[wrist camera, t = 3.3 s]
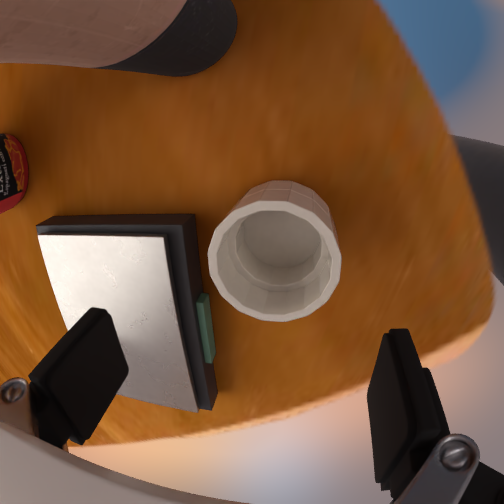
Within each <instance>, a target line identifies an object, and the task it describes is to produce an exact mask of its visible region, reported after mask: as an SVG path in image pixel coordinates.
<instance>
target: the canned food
mask: <svg viewBox="0 0 504 504" xmlns="http://www.w3.org/2000/svg"><path fill="white" fill-rule="evenodd" d="M27 185H28V162H27V158H26V154H25V152H24V149H23V147H22V145H21V143H20V142H19V141H18V140H17V139H16V138H15V137H14V136H12V135H9V134H0V214H1V213H3V212H5V211H7V210H9V209H11V208H13V207H14V206H15V205H16V204H17V203H18V202H19V201H20V200H21V199H22V198H23V196H24V194H25V192H26V189H27Z"/></svg>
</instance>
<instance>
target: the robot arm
mask: <svg viewBox="0 0 504 504" xmlns="http://www.w3.org/2000/svg"><path fill="white" fill-rule="evenodd" d="M128 373H129V367H128V364H127V361H126V358H125V356H124V353H123V350H122V347H121V344H120V341H119V338H118V335H117V332H116V329H115V326H114V323H113V319H112V317H111V315H110V314H109V313H108V311H107V310H106V309H102V308H96V307H91V308H90V309H89V310H88V311H87V312H86V313H85V314H84V315H83V316H82V317H81V318H80V319H79V320H78V321H77V322H76V323H75V324H74V325H73V326H72V327H71V329H70V330H69V331H68V332H67V333H66V334H65V335H64V336H63V337H62V338H61V339H60V340H59V341H58V343H57V344H56V345H55V346H54V347H53V348H52V349H51V350H50V351H49V353H48V354H47V355H46V356H45V357H44V358H43V359H42V360H41V362H40V363H39V364H38V365H37V366H36V367H35V368H34V370H33V371H32V372H31V373H30V374H29V375H28V377H29V378H30V380H31V382H30V384H28V382H27V381H26V380H25V379H23V378H19V377H16V378H12V379H9V380H7V381H6V382H4V383H3V384H2V385H1V386H0V504H249V503H241V502H234V501H228V500H222V499H216V498H211V497H206V496H200V495H196V494H191V493H186V492H182V491H178V490H174V489H170V488H166V487H162V486H159V485H155V484H152V483H149V482H145V481H142V480H139V479H135V478H133V477H129V476H126V475H124V474H121V473H118V472H115V471H112V470H110V469H107V468H104V467H102V466H99V465H96V464H94V463H91V462H89V461H87V460H84V459H82V458H80V457H77V456H75V455H73V454H71V453H69V452H68V446H67V440H68V439H70V440H71V441H73V442H75V443H77V444H80V445H83V443H84V442H85V440H87V439H89V438H90V437H91V435H92V433H93V432H94V430H95V428H96V427H97V425H98V423H99V422H100V420H101V418H102V417H103V415H104V413H105V412H106V410H107V408H108V407H109V405H110V403H111V402H112V400H113V399H114V397H115V395H116V394H117V392H118V390H119V389H120V387H121V386H122V384H123V382H124V381H125V379H126V377H127V376H128ZM367 402H368V410H369V418H370V427H371V437H372V448H373V458H374V472H375V481H376V483H381V491H384V490H390V492H391V497H392V498H393V500H392V501H391V502H390V504H504V475H503V474H501V473H499V472H497V471H496V470H494V469H492V468H490V467H488V466H487V465H485V464H483V463H481V462H480V461H479V460H480V451H479V448H478V446H477V444H476V443H475V442H474V440H473V439H471V438H470V437H468V436H466V435H462V434H450V431H449V427H448V424H447V421H446V417H445V414H444V411H443V407H442V405H441V401H440V398H439V395H438V392H437V389H436V386H435V383H434V380H433V377H432V375H431V372H430V370H429V369H428V368H422V366H421V363H420V360H419V357H418V354H417V351H416V349H415V346H414V343H413V341H412V338H411V335H410V333H409V330H408V329H390V330H389V333H385V334H384V335H383V338H382V341H381V345H380V349H379V353H378V357H377V360H376V364H375V367H374V371H373V374H372V378H371V381H370V384H369V387H368V392H367Z"/></svg>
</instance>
